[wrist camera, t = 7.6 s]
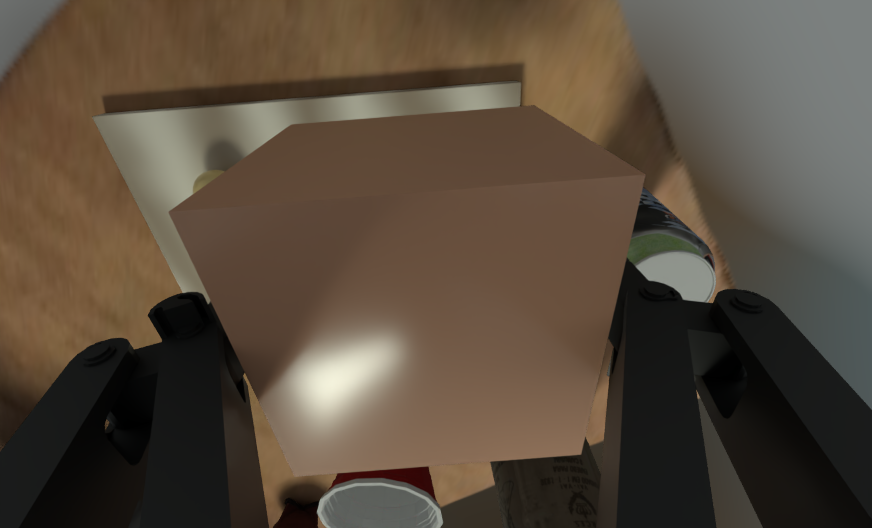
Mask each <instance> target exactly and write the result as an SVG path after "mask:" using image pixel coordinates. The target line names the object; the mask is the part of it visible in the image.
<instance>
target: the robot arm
mask: <svg viewBox="0 0 872 528" xmlns="http://www.w3.org/2000/svg"><path fill="white" fill-rule="evenodd" d="M148 317H149V318H150V320H151V322H152V323H153V325H154V327H155V328H156V330H157V332H158V333H159V335H160V337H161V338H162V342H160V343H157V344H153V345H149V346H146V347H142V348H138V349H135V350H134V349H133V347H132V346H131V344H130V343H129V341H128V340H127V339H124V338H113V339H108V340H105V341H100V342H98V343H95V344H94V345H91V346H89V347H87V348H86V349H85V350H83V351H82V352H80V353H79V354H77V355H76V356H75V357H74V358H73V359H72V360H71V361H70V362H69V364H68V365H67V366H66V367H65V369H64V370H63V371H62V373H61V374H60V375H59V376H58V378H57V379H56V380H55V382H54V383H53V384H52V386H51V387H50V388H49V389H48V391H47V392H46V393H45V395H44V396H43V397H42V399H41V400H40V401H39V402H38V404H37V405H36V406H35V408H34V409H33V410H32V412H31V413H30V414H29V415H28V417H27V418H26V419H25V421H24V422H23V423H22V424H21V426H20V427H19V428H18V430H17V431H16V432H15V434H14V435H13V436H12V437H11V439H10V440H9V441H8V443H7V444H6V445H5V447H4V448H3V449H2V450H1V452H0V528H269V524H268V517H267V511H266V504H265V498H264V491H263V484H262V478H261V471H260V464H259V458H258V451H257V445H256V438H255V431H254V425H253V418H252V412H251V405H250V398H249V392H248V385H247V383H246V381H245V379H244V377H243V375H244V373H245V372H244V370H243V368H242V366H241V363H240V361H239V359H238V357H237V355H236V353H235V351H234V349H233V347H232V345H231V343H230V340H229V338H228V336H227V334H226V332H225V330H224V328H223V326H222V324H221V322H220V319H219V317H218V315H217V313H216V311H215V309H214V307H213V305H212V303H211V301H210V303H209V304H208V303H207V301H206V299H205V297H204V295H203V294H202V293H199V292H185V293H180V294H177V295H174V296H171V297H169V298H167V299H165V300H163V301H161V302H160V303H158V304H157V305H156V306H154V307H153V308H152V309H151V310H150V312H149V314H148ZM608 338H609V340H610V342H611V343H612V345H613V346H614V348H613V352H612V356H611V360H610V364H609V368H608V372H607V376H610V377H609V388H608V399H607V411H606V422H605V433H604V445H603V456H602V467H601V479H600V490H599V501H598V513H597V524H596V528H716V522H715V515H714V508H713V502H712V494H711V487H710V481H709V474H708V467H707V460H706V453H705V446H704V439H703V433H702V426H701V419H700V412H699V405H698V399H697V392H698V394H699V396H700V398H701V400H702V402H703V404H704V406H705V408H706V410H707V412H708V414H709V416H710V418H711V421H712V423H713V425H714V427H715V429H716V431H717V433H718V435H719V437H720V439H721V441H722V444H723V446H724V448H725V450H726V452H727V454H728V456H729V458H730V460H731V462H732V464H733V466H734V468H735V470H736V473H737V475H738V477H739V479H740V481H741V483H742V485H743V487H744V489H745V491H746V493H747V495H748V497H749V499H750V502H751V504H752V506H753V508H754V510H755V512H756V514H757V516H758V518H759V520H760V522H761V524H762V526H763V528H872V410H871V409H870V408H869V406H868V405H867V404H866V403H865V402H864V401H863V400H862V399H861V398H860V397H859V395H857V393H856V392H855V391H854V390H853V389H852V388H851V387H850V386H849V384H848V383H847V382H846V381H845V380H844V379H843V378H842V377H841V376H840V375H839V373H838V372H837V371H836V370H835V369H834V368H833V367H832V366H831V365H830V364H829V362H828V361H827V360H826V359H825V358H824V357H823V356H822V355H821V354H820V353H819V352H818V350H817V349H815V347H814V346H813V345H812V344H811V343H810V342H809V341H808V339H806V337H805V336H804V335H803V334H802V333H801V332H800V331H799V330H798V329H797V328H796V326H795V325H794V324H793V323H792V322H791V321H790V320H789V319H788V318H787V317H786V315H785V314H784V313H783V312H782V311H781V310H780V309H779V308H778V307H777V306H776V305H775V304H774V303H773V302H771V301H770V300H769V299H767V298H765V297H763V296H761V295H759V294H757V293H754V292H750V291H747V290H738V289H725V290H722V291H720V292H718V293H717V295H716V297H715V300H714V302H713V303H706V302H698V301H689V300H684V299H683V298H682V296H681V294H680V293H679V292H678V291H677V290H675V289H674V288H673V287H671V286H668V285H666V284H664V283H660V282H656V281H649V280H648V279H647V278H646V277H645V276H644V275H643V274H642V273H641V272H640V271H639V270H638V269H637V267H636V266H635V265H634V264H633V263H632V262H630V261H629V259H628V258H626V262H625V267H624V271H623V275H622V280H621V284H620V288H619V293H618V297H617V301H616V306H615V310H614V314H613V319H612V323H611V327H610V332H609V336H608ZM696 390H697V392H696ZM106 419H107V420H108V421H109V422H110V423H109V425H108V427H107V429H106V430H105V422H106Z"/></svg>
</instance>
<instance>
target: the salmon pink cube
mask: <svg viewBox="0 0 872 528" xmlns="http://www.w3.org/2000/svg"><path fill="white" fill-rule="evenodd" d="M645 176H646V174H644V173H642V172H641V171H639V170H638V169H636V168H634V167H633V166H631V165H630V164H628V163H626V162H625V161H623V160H622V159H620V158H618V157H617V156H615V155H614V154H612V153H610V152H609V151H607V150H605V149H604V148H602V147H601V146H599V145H597V144H596V143H594V142H593V141H591V140H589V139H588V138H586V137H585V136H583V135H581V134H580V133H578V132H576V131H575V130H573V129H572V128H570V127H568V126H567V125H565V124H564V123H562V122H560V121H559V120H557V119H556V118H554V117H552V116H551V115H549V114H548V113H546V112H544V111H543V110H541V109H539V108H538V107H536V106H535V105H531V106H518V107H506V108H493V109H480V110H468V111H455V112H442V113H429V114H417V115H404V116H391V117H379V118H366V119H353V120H341V121H328V122H315V123H303V124H291V125H290V126H288V127H287V128H285V129H284V130H283V131H281V132H280V133H278V134H277V135H276V136H274V137H273V138H271V139H270V140H269V141H267V142H266V143H264V144H263V145H262V146H260V147H259V148H257V149H256V150H254V151H253V152H252V153H250V154H249V155H247V156H246V157H245V158H243V159H242V160H240V161H239V162H238V163H236V164H235V165H233V166H232V167H231V168H229V169H228V170H226V171H225V172H224V173H222V174H221V175H219V176H218V177H217V178H215V179H214V180H212V181H211V182H210V183H208V184H207V185H205V186H204V187H202V188H201V189H200V190H198V191H197V192H195V193H194V194H193V195H191V196H190V197H188V198H187V199H186V200H184V201H183V202H181V203H180V204H179V205H177V206H176V207H174V208H173V209H172V210H170V211H169V212H168V213H169V215H170V217H171V219H172V221H173V223H174V225H175V227H176V230H177V232H178V234H179V236H180V238H181V240H182V242H183V244H184V246H185V248H186V250H187V253H188V255H189V257H190V259H191V261H192V263H193V265H194V267H195V269H196V271H197V273H198V276H199V278H200V280H201V282H202V284H203V286H204V288H205V290H206V292H207V294H208V296H209V299H210V301H211V303H212V305H213V307H214V309H215V311H216V313H217V315H218V317H219V319H220V322H221V324H222V326H223V328H224V330H225V332H226V334H227V336H228V338H229V340H230V343H231V345H232V347H233V349H234V351H235V353H236V355H237V357H238V359H239V361H240V363H241V366H242V368H243V370H244V372H245V374H246V376H247V378H248V380H249V382H250V384H251V386H252V389H253V391H254V393H255V395H256V397H257V399H258V401H259V403H260V405H261V407H262V409H263V412H264V414H265V416H266V418H267V420H268V422H269V424H270V426H271V428H272V430H273V432H274V435H275V437H276V439H277V441H278V443H279V445H280V447H281V449H282V451H283V453H284V455H285V458H286V460H287V462H288V464H289V466H290V468H291V470H292V472H293V474H294V476H295V477H296V476H309V475H322V474H335V473H348V472H361V471H374V470H387V469H400V468H413V467H426V466H439V465H452V464H465V463H478V462H491V461H504V460H517V459H530V458H543V457H557V456H570V455H581V453H582V448H583V444H584V440H585V435H586V431H587V427H588V422H589V418H590V414H591V409H592V405H593V401H594V396H595V392H596V388H597V383H598V379H599V375H600V371H601V366H602V362H603V358H604V353H605V349H606V345H607V340H608V336H609V332H610V327H611V323H612V319H613V314H614V310H615V306H616V301H617V297H618V293H619V288H620V284H621V280H622V275H623V271H624V267H625V262H626V258H627V254H628V249H629V245H630V241H631V236H632V232H633V228H634V223H635V219H636V215H637V210H638V206H639V202H640V197H641V193H642V189H643V184H644V180H645Z"/></svg>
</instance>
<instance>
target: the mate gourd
mask: <svg viewBox="0 0 872 528" xmlns="http://www.w3.org/2000/svg"><path fill="white" fill-rule="evenodd" d="M285 504H287V505H286V507H285V509H284V511H283V513H282V515H281V517H280V519H279V521H278V522H277V523H276V524H275V525H274V526H273V528H318V526H317V525H318V513H317V510H318V506H319V502H314V503H311V504H308V505H305V506H301V505H299V504H298V503H296V502H295V501H294V500H292V499H291V498H288V499H286V501H285Z"/></svg>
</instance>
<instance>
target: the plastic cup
mask: <svg viewBox="0 0 872 528" xmlns="http://www.w3.org/2000/svg"><path fill="white" fill-rule="evenodd" d="M317 513H318V515H319V517H320V519H321V521H322V523H323V525H325V526H326V527H327V528H440V527H441V525H442V524H443V522H442V516H441V510H440V506H439V504H438V503H437V500H436V498H435V494H434V489H433V485H432V480H431V475H430V473H429V467H428V466H426V467H413V468H400V469H387V470H374V471H361V472H348V473H338V474H337V476H336V479H335V480H334V481H333V483H332V486H331V487H330V488H329V490H328V491H327V492H326V493H325V494H324V495H323V496H322V497H321V499H320V502H319V506H318V510H317Z"/></svg>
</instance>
